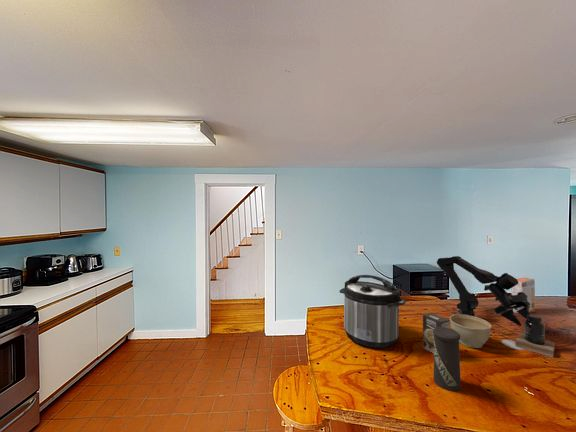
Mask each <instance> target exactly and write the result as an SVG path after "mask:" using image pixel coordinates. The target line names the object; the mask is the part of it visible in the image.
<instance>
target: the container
mask: <svg viewBox="0 0 576 432" xmlns="http://www.w3.org/2000/svg"><path fill="white" fill-rule="evenodd" d="M433 334H434V354H433V381H434V383H435V384H436V385H437V386H439V387H440V388H441V389H445V390H448V391H452V392H453V391H454V392H455V391H459V390H460V389H461V387H462V386H461V383H462V382H461V364H460V363H461V359H460V342H459V340H460V334H459V333H458V332H457V331H455V330H453V329H452V328H451V327H450V328H446V327H436V328H434V329H433Z"/></svg>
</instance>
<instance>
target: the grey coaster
mask: <svg viewBox="0 0 576 432" xmlns="http://www.w3.org/2000/svg"><path fill="white" fill-rule="evenodd" d="M515 341H516V340H512V339H502V340H501V343H502V344H503V345H504V346H507V347H509V348H511V349H514V350H519V351H527V350H526V349H523V348H520V347H516V344H515Z"/></svg>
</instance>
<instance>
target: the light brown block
mask: <svg viewBox="0 0 576 432" xmlns="http://www.w3.org/2000/svg"><path fill="white" fill-rule="evenodd" d="M514 341H515V344H516V347H520V348H523V349H526V350H525V351H530V352H534V353H536V354H541V355H543V356H547V357H550V358H554V355H555V347H556V346H555V345H556V344H555V341H551V340H548V339H545V344H543V345H538V344H534V343H531V342H528V341H527V340H525V338H524V333H521V332H519V333H518V335H517V337H516V339H515V340H514Z"/></svg>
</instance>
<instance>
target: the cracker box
mask: <svg viewBox="0 0 576 432" xmlns="http://www.w3.org/2000/svg"><path fill="white" fill-rule="evenodd" d="M516 279H517V281H518V284H517V285H516V286H514V287H512V288H510V289H511V294H512V295H517V293H518V292H523V293H525V294H526V295H527V296H528V297H527V300H528V302H529V303H530V304H531V305H529V306H530V307H529V313H530V314H532V313H535V312H536V288H535V287H536V286H535V278H529V277H520V278H516ZM516 311H518V310H515V309H513V314H518V315H520V314H519V313H518V312H516Z"/></svg>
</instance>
